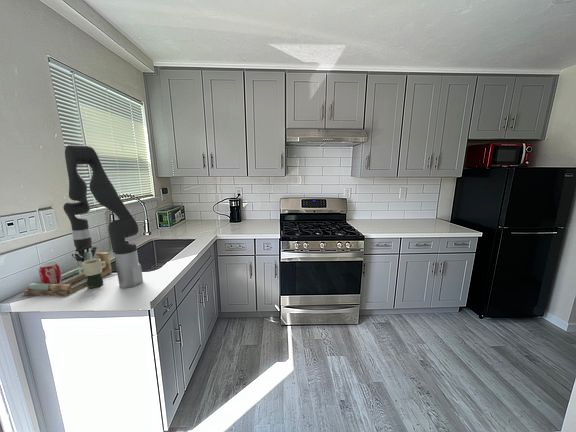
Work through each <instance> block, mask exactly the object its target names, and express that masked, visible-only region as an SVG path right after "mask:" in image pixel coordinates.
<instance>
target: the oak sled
mask: <svg viewBox="0 0 576 432" xmlns="http://www.w3.org/2000/svg"><path fill="white" fill-rule="evenodd" d="M94 256H95V259H101V262H103V261H105V265H106V267H104V268H102V272H101V273H100V274H101V276H102V278H103V277H105V276H107V275H109V274H111V273H113V269H112V264H111V257H110V252H102V251H101V252H100V251H99V252H98V251H97V252H95V255H94ZM102 266H103V263H102ZM108 273H109V274H108ZM87 277H88V276H86V275H85V274H82V275H80V276H78V277H76V278H73V277H72V278H73V279H71V280H69V281H67V282H65V283H62V284H51V285H49V286H50V290H51V291H68V294H69V295H70V294H72V293H74V292H76V291H77V290H81V289H82V288H84V287H85V286H86V287H87V280H85V281H83V282H80V283H78V282H79V281H81V280H83V279H85V278H87ZM75 283H78V284H76V285H74V286H72V284H75Z"/></svg>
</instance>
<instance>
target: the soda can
mask: <svg viewBox="0 0 576 432" xmlns="http://www.w3.org/2000/svg"><path fill="white" fill-rule="evenodd" d="M60 268H61V267H60V266H59V264H57V262H47V263H43V264H41V265H39V269H38V273H39V278H40V284H59V283H62V282H63V279H62V278H61V275H62V273H61V269H60Z"/></svg>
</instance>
